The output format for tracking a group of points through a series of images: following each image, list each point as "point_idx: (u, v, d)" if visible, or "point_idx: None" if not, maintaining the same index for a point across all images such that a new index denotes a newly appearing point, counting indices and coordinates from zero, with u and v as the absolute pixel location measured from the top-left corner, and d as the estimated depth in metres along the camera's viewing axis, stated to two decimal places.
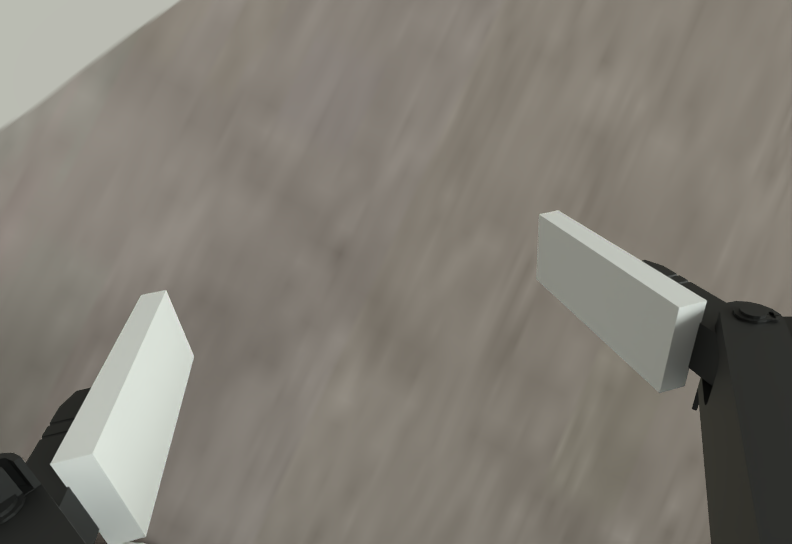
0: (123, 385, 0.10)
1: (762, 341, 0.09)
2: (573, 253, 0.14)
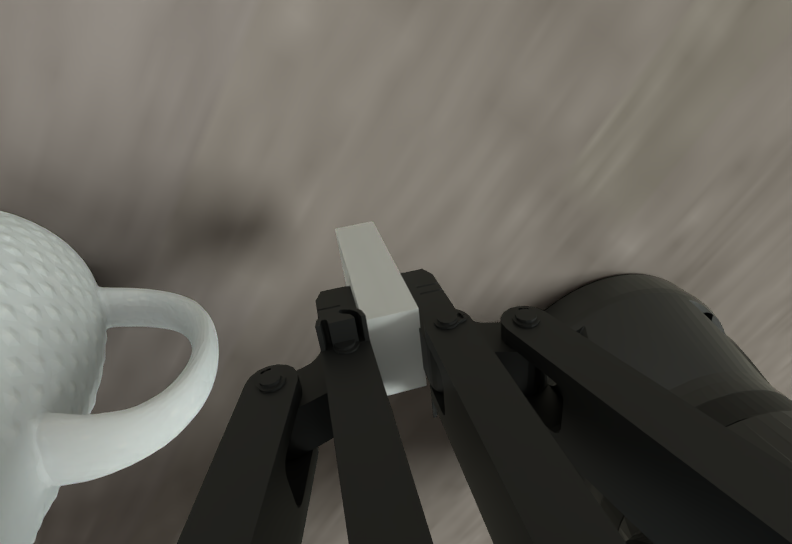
0: (376, 279, 0.13)
1: (463, 343, 0.10)
2: None
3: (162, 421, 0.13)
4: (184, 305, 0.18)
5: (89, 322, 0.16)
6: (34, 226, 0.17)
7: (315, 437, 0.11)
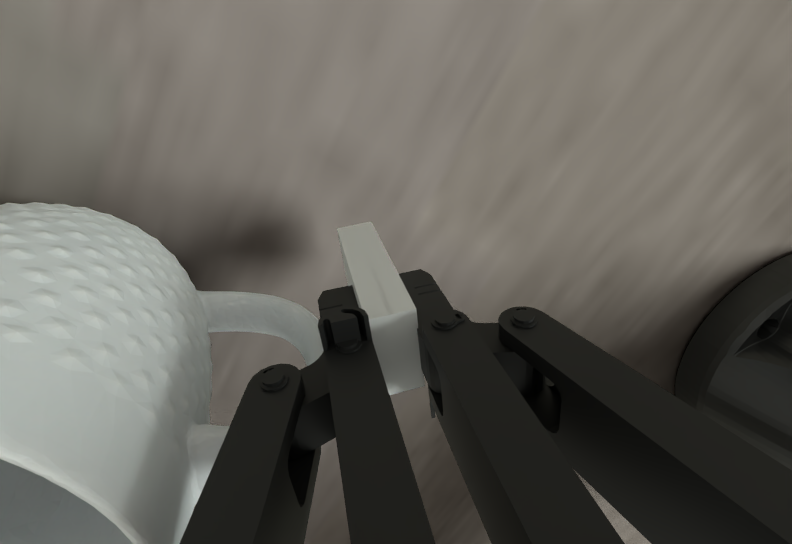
0: (378, 279, 0.13)
1: (460, 344, 0.10)
2: None
3: None
4: (289, 308, 0.17)
5: (203, 327, 0.15)
6: (138, 228, 0.16)
7: (318, 437, 0.11)
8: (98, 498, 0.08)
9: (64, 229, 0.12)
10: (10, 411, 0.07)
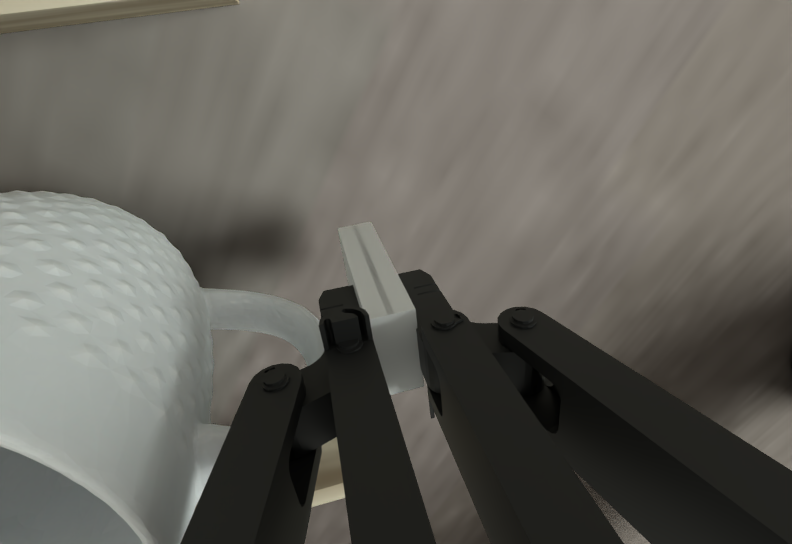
0: (379, 279, 0.13)
1: (460, 344, 0.10)
2: None
3: None
4: (293, 310, 0.17)
5: (207, 325, 0.15)
6: (145, 222, 0.16)
7: (319, 436, 0.11)
8: (114, 496, 0.08)
9: (76, 221, 0.12)
10: (31, 406, 0.07)
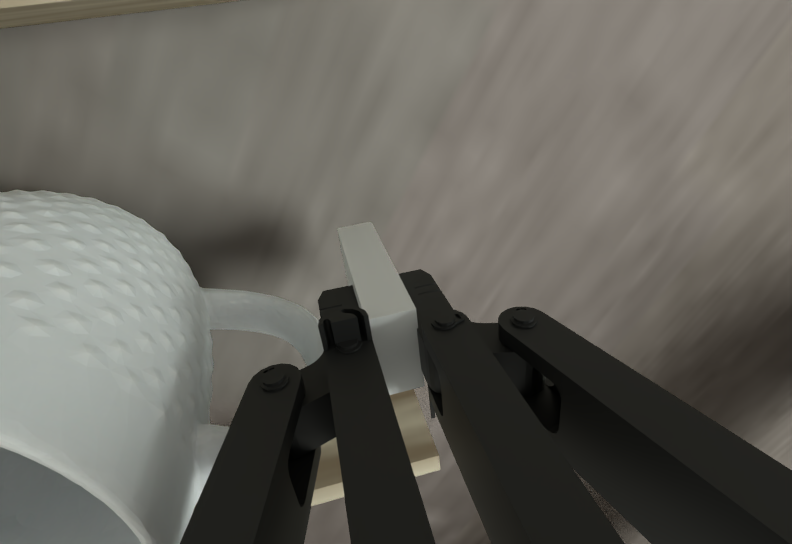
0: (379, 279, 0.13)
1: (461, 344, 0.10)
2: None
3: None
4: (292, 310, 0.17)
5: (207, 325, 0.15)
6: (145, 222, 0.16)
7: (318, 437, 0.11)
8: (113, 497, 0.08)
9: (76, 221, 0.12)
10: (30, 406, 0.07)
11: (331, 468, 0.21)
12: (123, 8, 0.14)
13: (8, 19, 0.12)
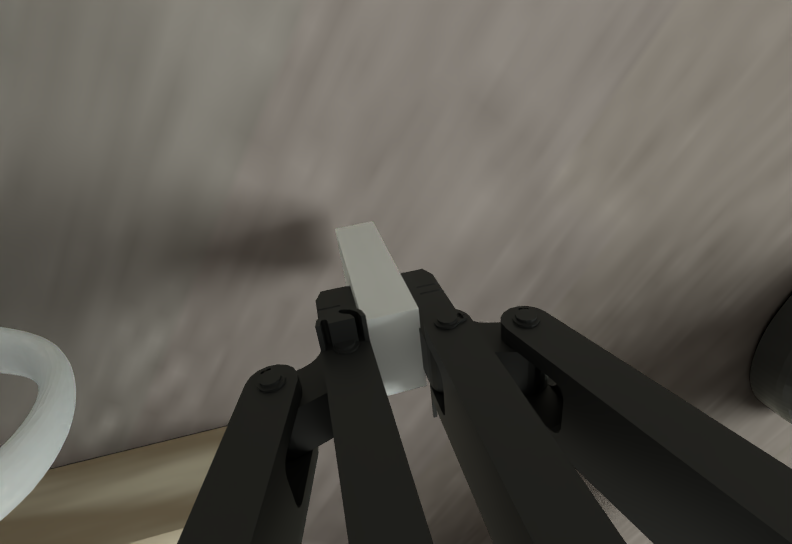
0: (376, 279, 0.13)
1: (463, 343, 0.10)
2: None
3: None
4: (38, 351, 0.14)
5: None
6: None
7: (315, 437, 0.11)
8: None
9: None
10: None
11: (143, 519, 0.18)
12: None
13: None
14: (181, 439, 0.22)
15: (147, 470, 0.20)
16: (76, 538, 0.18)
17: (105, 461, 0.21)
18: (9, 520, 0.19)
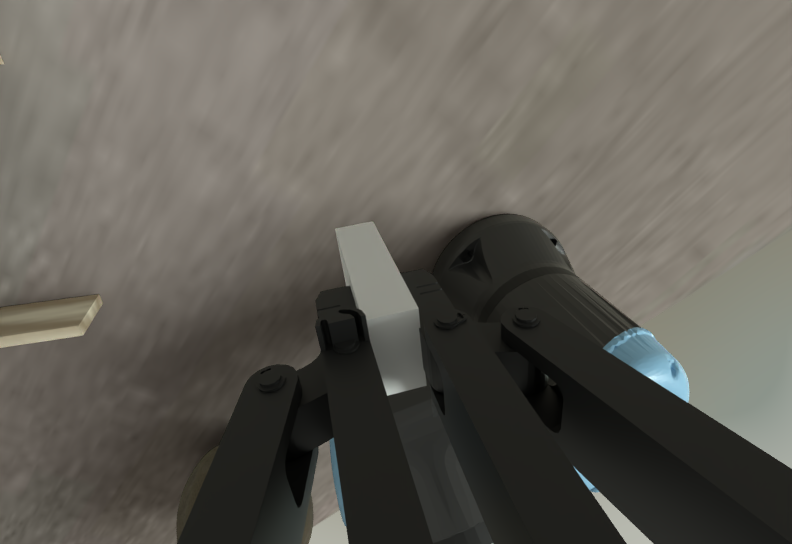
0: (376, 279, 0.13)
1: (463, 343, 0.10)
2: None
3: None
4: None
5: None
6: None
7: (315, 437, 0.11)
8: None
9: None
10: None
11: (14, 329, 0.36)
12: None
13: None
14: (48, 301, 0.40)
15: (24, 312, 0.38)
16: None
17: (3, 308, 0.39)
18: None
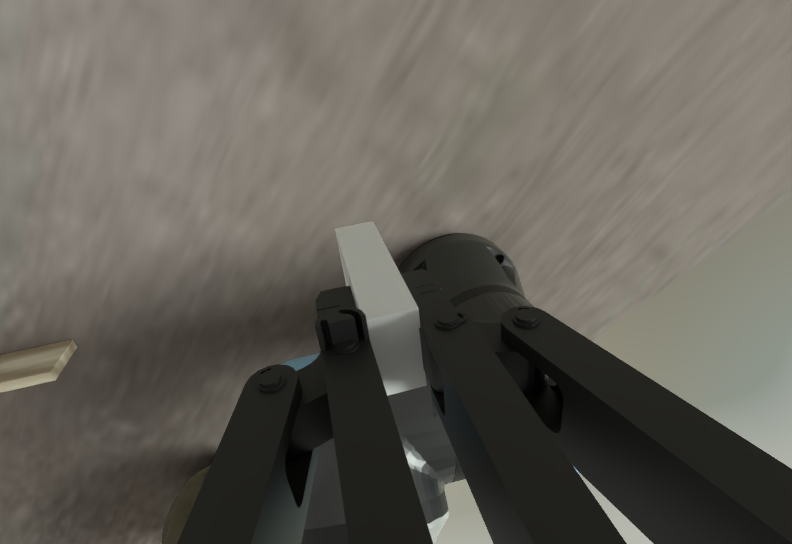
0: (376, 279, 0.13)
1: (463, 343, 0.10)
2: None
3: None
4: None
5: None
6: None
7: (315, 437, 0.11)
8: None
9: None
10: None
11: None
12: None
13: None
14: (26, 349, 0.43)
15: (4, 361, 0.42)
16: None
17: None
18: None
